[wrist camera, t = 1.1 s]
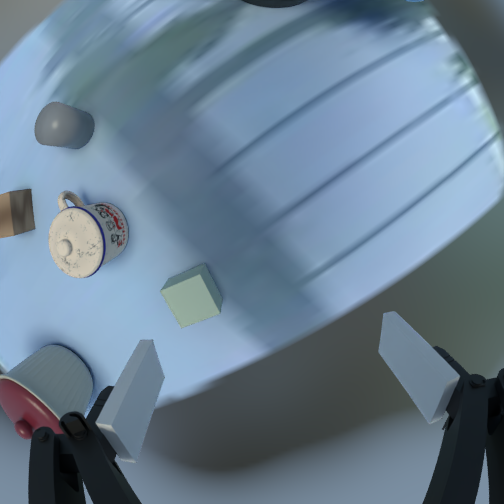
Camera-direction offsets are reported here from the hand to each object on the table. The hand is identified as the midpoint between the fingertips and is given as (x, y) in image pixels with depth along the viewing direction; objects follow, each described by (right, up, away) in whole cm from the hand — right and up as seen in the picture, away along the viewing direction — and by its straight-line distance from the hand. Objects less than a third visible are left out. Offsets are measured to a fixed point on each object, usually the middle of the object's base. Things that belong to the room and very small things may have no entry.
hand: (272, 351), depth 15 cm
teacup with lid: (-24, +10, +23) cm, 35 cm away
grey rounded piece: (-28, +24, +19) cm, 41 cm away
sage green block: (-9, 0, +26) cm, 28 cm away
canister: (-38, -18, +30) cm, 52 cm away
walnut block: (-41, +13, +22) cm, 48 cm away
